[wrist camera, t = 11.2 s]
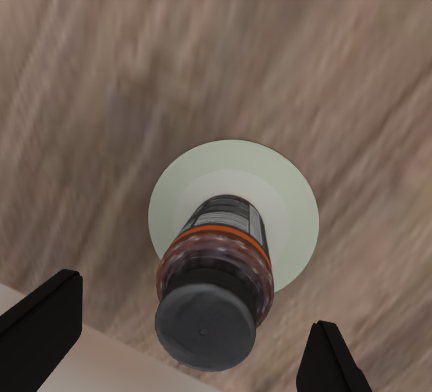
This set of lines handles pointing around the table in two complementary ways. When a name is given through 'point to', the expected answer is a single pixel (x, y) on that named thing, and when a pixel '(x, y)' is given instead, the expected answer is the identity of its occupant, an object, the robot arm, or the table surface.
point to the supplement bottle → (215, 285)
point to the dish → (246, 188)
